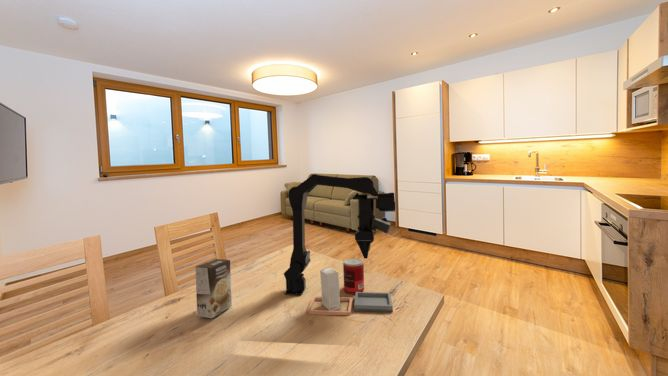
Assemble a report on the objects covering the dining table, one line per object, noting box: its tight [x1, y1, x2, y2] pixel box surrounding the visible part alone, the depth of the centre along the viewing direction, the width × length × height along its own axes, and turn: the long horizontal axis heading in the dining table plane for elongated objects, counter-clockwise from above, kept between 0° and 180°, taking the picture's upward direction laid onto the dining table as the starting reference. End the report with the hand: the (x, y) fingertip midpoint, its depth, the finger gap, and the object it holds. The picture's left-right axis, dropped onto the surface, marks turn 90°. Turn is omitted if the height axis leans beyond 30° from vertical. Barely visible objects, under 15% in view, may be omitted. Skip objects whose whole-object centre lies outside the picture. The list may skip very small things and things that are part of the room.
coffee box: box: [195, 258, 233, 319], centre depth 90 cm, size 9×6×16 cm
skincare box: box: [319, 267, 341, 311], centre depth 90 cm, size 6×4×12 cm
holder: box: [306, 296, 353, 316], centre depth 91 cm, size 14×11×1 cm
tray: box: [353, 291, 394, 313], centre depth 91 cm, size 12×10×2 cm
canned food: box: [342, 258, 365, 295], centre depth 104 cm, size 8×8×11 cm
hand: (366, 254), depth 99 cm, fingers open, 9 cm apart
